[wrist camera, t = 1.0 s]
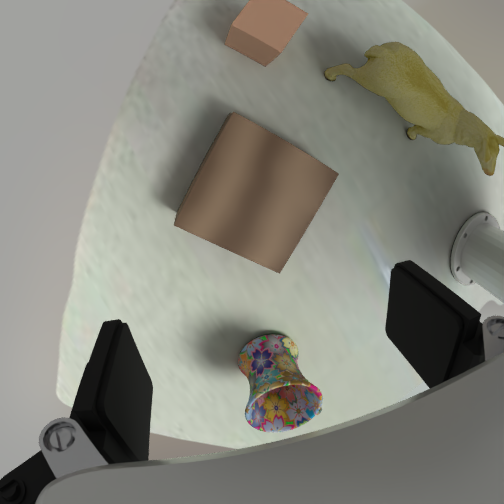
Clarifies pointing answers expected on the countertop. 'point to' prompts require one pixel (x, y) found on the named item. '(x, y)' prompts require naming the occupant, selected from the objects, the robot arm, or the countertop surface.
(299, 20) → the terracotta block
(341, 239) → the countertop surface
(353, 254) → the countertop surface
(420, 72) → the toy
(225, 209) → the walnut box
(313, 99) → the countertop surface
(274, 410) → the mug
